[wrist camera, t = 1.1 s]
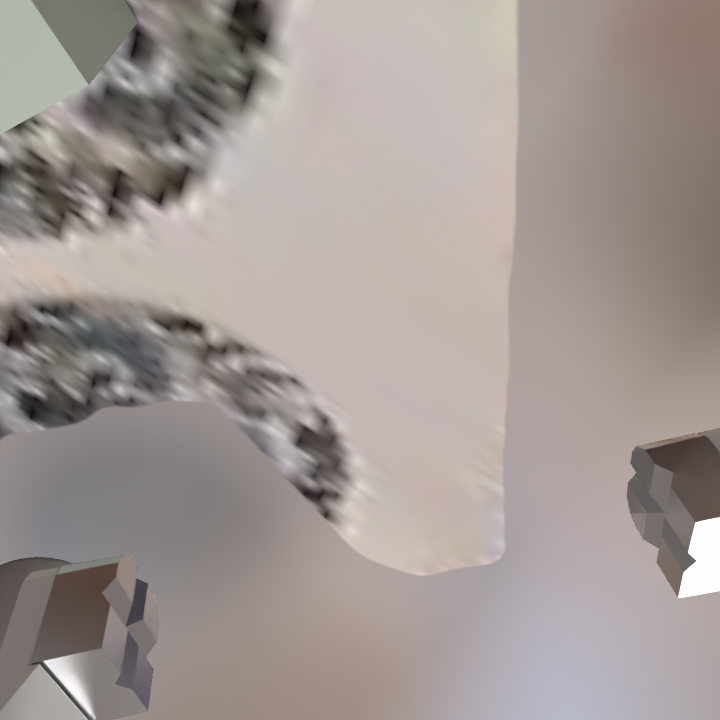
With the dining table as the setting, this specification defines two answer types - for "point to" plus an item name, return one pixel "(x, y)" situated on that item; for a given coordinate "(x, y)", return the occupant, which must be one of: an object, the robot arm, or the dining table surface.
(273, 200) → the dining table surface
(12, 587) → the cylinder vase
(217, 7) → the dining table surface
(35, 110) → the pale green block
